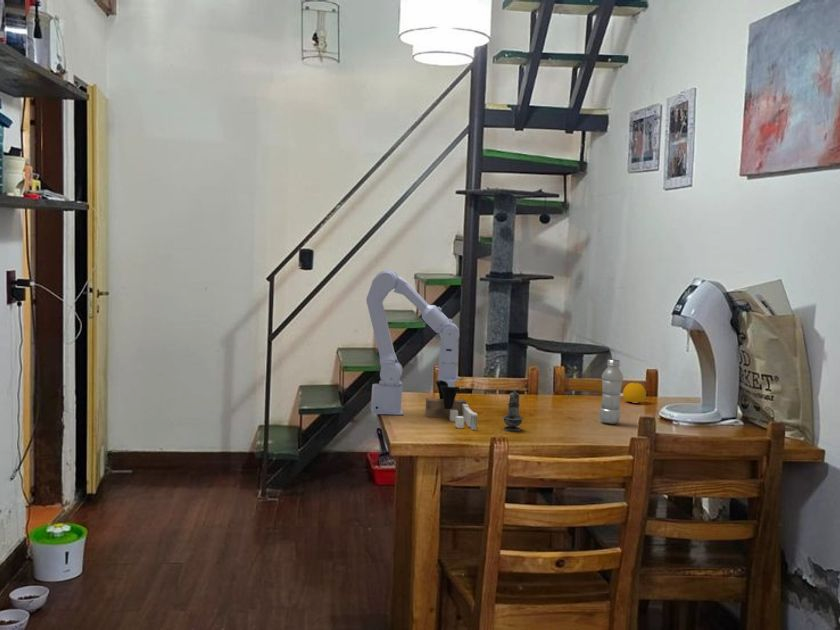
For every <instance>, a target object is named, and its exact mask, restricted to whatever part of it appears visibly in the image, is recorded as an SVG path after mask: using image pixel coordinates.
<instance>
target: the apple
mask: <svg viewBox="0 0 840 630" xmlns="http://www.w3.org/2000/svg"><path fill="white" fill-rule="evenodd" d="M622 395H623V396H622V397H623V399H624V401H626V400H627V401H630V402H642V403H644V401H645V400H646V398H647V391H646V389H645V387H644V386H643V384H641V383H638V382H629V383H627V384H626V385H625V387H624V388H623V392H622ZM627 401H626V402H627Z"/></svg>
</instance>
